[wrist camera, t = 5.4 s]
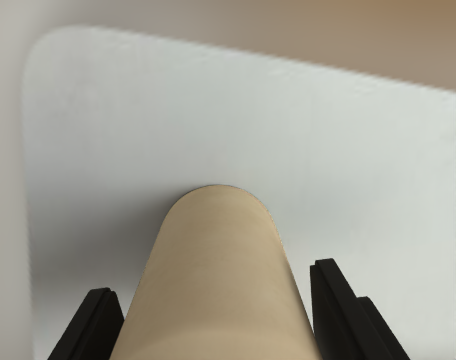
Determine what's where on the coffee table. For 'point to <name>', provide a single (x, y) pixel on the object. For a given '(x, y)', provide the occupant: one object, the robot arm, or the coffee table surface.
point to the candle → (217, 287)
